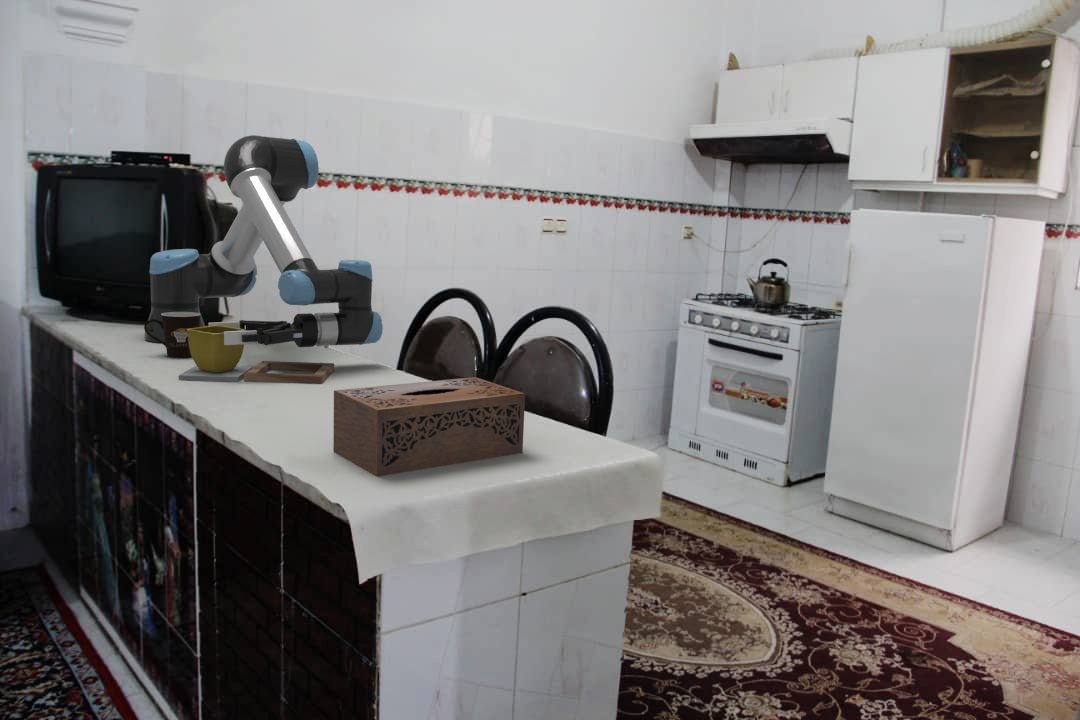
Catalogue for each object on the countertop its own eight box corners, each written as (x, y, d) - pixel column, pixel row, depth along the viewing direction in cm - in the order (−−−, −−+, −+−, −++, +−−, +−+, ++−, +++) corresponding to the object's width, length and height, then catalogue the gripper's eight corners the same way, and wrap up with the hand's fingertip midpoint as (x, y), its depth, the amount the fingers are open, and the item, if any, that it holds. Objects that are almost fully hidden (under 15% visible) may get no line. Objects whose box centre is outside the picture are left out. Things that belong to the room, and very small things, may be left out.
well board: (262, 367, 201) (262, 360, 201) (334, 369, 202) (334, 363, 202) (243, 381, 186) (243, 374, 185) (321, 383, 187) (321, 376, 186)
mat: (197, 369, 196) (197, 364, 195) (252, 371, 196) (252, 366, 196) (178, 380, 184) (178, 375, 184) (237, 381, 185) (237, 377, 184)
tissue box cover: (473, 433, 153) (475, 377, 151) (522, 454, 142) (525, 393, 140) (333, 453, 137) (333, 390, 136) (376, 478, 126) (377, 410, 124)
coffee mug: (207, 354, 214) (207, 313, 213) (190, 360, 206) (189, 317, 204) (161, 351, 215) (160, 310, 214) (142, 357, 207) (141, 314, 205)
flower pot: (247, 370, 192) (247, 329, 191) (216, 376, 185) (215, 333, 183) (218, 365, 196) (217, 324, 195) (186, 370, 188) (185, 328, 187)
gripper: (333, 355, 190) (231, 360, 179) (296, 338, 211) (203, 342, 199) (333, 320, 189) (231, 324, 177) (296, 306, 209) (202, 308, 198)
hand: (216, 333), depth 188 cm, fingers open, 13 cm apart
